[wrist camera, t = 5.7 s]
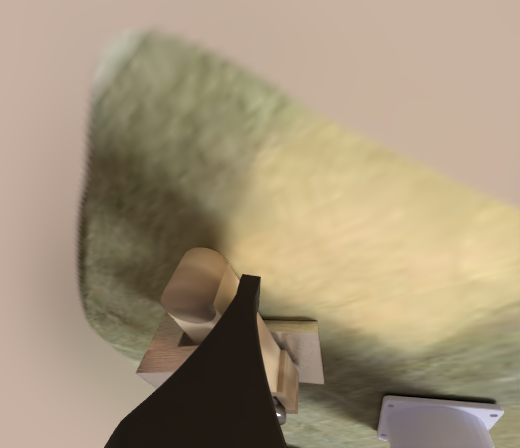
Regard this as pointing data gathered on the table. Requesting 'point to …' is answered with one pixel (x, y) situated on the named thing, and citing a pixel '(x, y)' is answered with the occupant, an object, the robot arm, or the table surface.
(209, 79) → the table surface
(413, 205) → the table surface
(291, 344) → the pintle base
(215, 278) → the link
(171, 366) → the block
